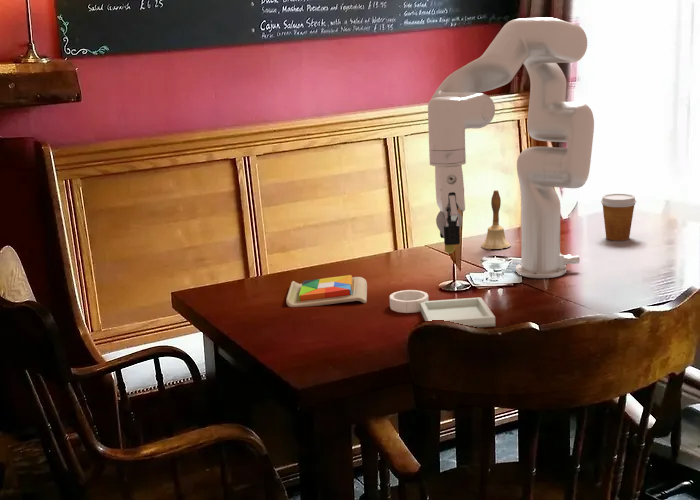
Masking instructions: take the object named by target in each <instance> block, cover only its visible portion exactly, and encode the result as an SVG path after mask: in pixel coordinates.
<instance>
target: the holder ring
mask: <svg viewBox="0 0 700 500" xmlns="http://www.w3.org/2000/svg"><path fill="white" fill-rule="evenodd" d="M425 301H430V300H429V294H428V293H427V292H425V291H422V290H416V289H405V290H400V291H399V290H398V291H395V292H393V293H391V294H390V295H389V307H390V310H391V311H394V312H396V313H403V314H404V313H405V314H409V313H411V314H412V313H420V312H421V311H420V303H421V302H425Z"/></svg>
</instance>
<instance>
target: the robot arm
mask: <svg viewBox="0 0 700 500" xmlns="http://www.w3.org/2000/svg"><path fill="white" fill-rule="evenodd" d="M587 49H588V37H587V34H586V32H585V30H584V29H583V28H582V27H581V26H580V25H578V24H575V23H572V22H569V21H565V20H562V19H559V18H554V17H547V16H546V17H526V18H524V17H523V18H516V19H512V20H509V21H507V22H506V23H505V24H504V25H503V27H502V28H501V29H500V31H499V32H498V33H497V34H496V36H495V37H494V38H493V40H492V42H490V43H489V46H488V47H487V48H486V50H485V51H484V52H483V54H482V55H481V56H480V57H478V58H476V59H474V60H472V61H470V62H468V63H466V65H463V66H461V67H460V68H458V69H457V70H454V72H452V73H451V74H449V75H448V76H446V78H444V80H443V81H442V82H441V83H440V84H439V86H438V87H437V89H436V90H435V92H434V93H433V95H432V96H431V99H430V100H429V101H428V105H427V118H428V120H427V121H428V122H427V123H428V148H429V149H428V150H429V151H428V152H429V154H428V155H429V166H430V167H431V166H432V167H434V178H435V180H434V181H435V182H434V184H435V199H436V205H437V207H438V209H439V212H440V211H442V212H443V213H444V215H445V226H444V237H443V235H442V233H441V232H440V231H439V236H440V238H441V239H444V240H443V242H444V243H445V244H444V246H445V245H454V246H456V245H459V244H460V243H461V239H460V237H461V235H460V234H461V233H460V229H461V228H460V229H459V218H458V212H459V211H460V213H464V212H465V211H466V203H465V202H466V201H465V187H464V183H465V182H464V174H463V167H462V166H463V165H466V163H467V161H466V159H467V158H466V155H467V154H466V130H467V129H469V130H470V129H482V128H484V127H486V126H488V125H490V123H491V122H492V120H493V119H494V117H495V113H496V107H495V106H496V105H495V103H494V100H493V99H492V98H491V97H490V96H489V95H487V94H486V93H484V92H487V91H492V90H495V89H497V88H501V87H503V86H505V85H507V84H509V83H511V81H512V80H513V79H514V78H515V76H516V74H517V73H518V72H519V71H520V68H521V67H522V65H523V66H524V67H525V68H526V71H527V74H528V77H529V82H530V89H529V91H530V92H529V101H528V111H527V112H528V113H527V124H526V125H527V133H528V135H529V136H530V138H532V139H533V140H535V141H540V142H541V141H542V142H555V143H566V147H557V146H555V147H554V146H539V145H538V146H530V147H527V148H525V149H523V150H522V151H521V152H520V154H519V155H518V157H517V160H516V171H517V177H518V183H519V189H520V201H521V202H520V206H521V207H520V209H521V210H520V212H521V214H520V215H521V216H520V217H521V218H520V221H521V222H520V223H521V224H520V229H521V230H520V231H521V232H520V233H521V235H520V238H521V240H520V241H521V242H520V244H521V245H520V246H521V247H520V248H521V249H520V251H521V253H520V256H521V259H520V260H521V262H520V263H518V264H516V266H515V270H516V272H517V273H519V274H521V275H522V277H524V278H531V279H550V278H557V277H558V278H559V277H561V276H563V275H565V274H566V273H567V265H570V264H571V265H574V264H576V265H577V264H580V256H579V255H573V256H572V254H565V255H564V254H562V253H561V210H562V209H561V208H562V207H561V200H560V197H559V195H558V193H557V191H556V189H555V188H562V189H563V188H564V189H579V188H582V187H583V186H584V185H585V184H586V182H587V181H588V178H589V175H590V170H591V163H592V162H591V161H592V160H591V159H592V151H593V140H594V132H595V119H594V117H595V116H594V114H593V111H592V109H591V107H589V106H588V105H587V104H586V103H583V102H578V101H576V102H575V101H566V99H567V98H566V96H567V94H566V93H567V78H566V75H565V74H564V71H563V70H562V68H561V67H560V65H558V64H560V63H561V64H563V63H565V64H567V63H568V64H569V63H577V62H579V61H580V60H581V59H582V58H583V57H584V56H585V54H586V52H587ZM447 209H450V211H448V212H447ZM448 215H450V216H449V217H448ZM520 264H521V265H520ZM515 270H514V271H515ZM516 272H515V273H516ZM517 273H516V274H517ZM519 274H518V275H519ZM521 275H520V276H521Z"/></svg>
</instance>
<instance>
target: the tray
mask: <svg viewBox="0 0 700 500" xmlns="http://www.w3.org/2000/svg"><path fill="white" fill-rule="evenodd" d="M419 312H420V313H421V315H422V318H423V320H424V322H425V321H432V320H444V321H450V322H454V323H459V324H463V325H468V326H473V327H477V328H487V327H496V316H495V315H494V313H493V312H492V311H491V308H489V306H488V304H487V303H486V302H485V300H484V299H483V298H482V297H479V296H478V297H467V298H464V297H463V298H452V299H451V298H450V299H438V300H429V301H425V302H421V303H420V311H419Z"/></svg>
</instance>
